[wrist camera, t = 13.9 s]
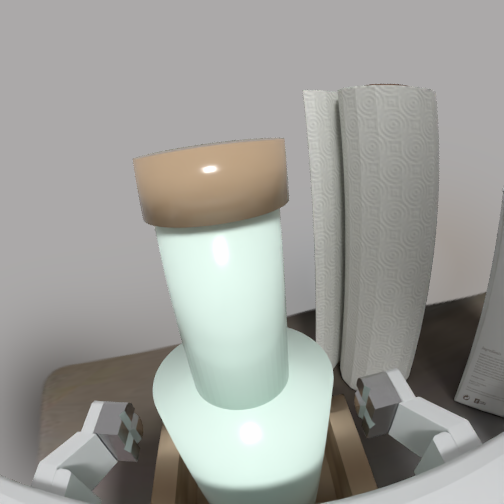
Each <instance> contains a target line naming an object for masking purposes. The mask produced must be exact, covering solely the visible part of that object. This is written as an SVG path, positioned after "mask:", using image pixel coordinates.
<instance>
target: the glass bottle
mask: <svg viewBox="0 0 504 504" xmlns="http://www.w3.org/2000/svg"><path fill="white" fill-rule="evenodd" d="M133 164H134V171H135V177H136V182H137V189H138V194H139V200H140V205H141V211H142V216H143V220H144V221H145V222H146V223H148V224H150V225H153V226H155V231H156V236H157V241H158V246H159V250H160V255H161V259H162V264H163V268H164V273H165V277H166V281H167V286H168V290H169V294H170V298H171V302H172V306H173V310H174V314H175V317H176V321H177V325H178V329H179V332H180V336H181V340H182V344H180V345H179V346H178V347H176V348H175V349H174V350H173V351H172V352H171V353H170V354H169V355H168V356H167V357H166V358H165V359H164V361H163V362H162V363H161V365H160V367H159V369H158V371H157V373H156V376H155V379H154V383H153V398H154V402H155V405H156V408H157V410H158V412H159V414H160V417H161V419H162V421H163V423H164V425H165V427H166V429H167V431H168V433H169V435H170V436H171V438H172V440H173V442H174V444H175V446H176V448H177V450H178V452H179V453H180V455H181V457H182V459H183V461H184V462H185V464H186V466H187V468H188V469H189V471H190V473H191V475H192V476H193V478H194V480H195V481H196V483H197V485H198V486H199V488H200V490H201V491H202V493H203V494H204V496H205V498H206V499H207V501H208V502H209V504H315V502H316V497H317V492H318V486H319V481H320V475H321V469H322V463H323V457H324V451H325V444H326V437H327V430H328V423H329V415H330V407H331V398H332V389H333V379H334V377H333V369H332V365H331V362H330V360H329V358H328V356H327V354H326V353H325V351H324V350H323V349H322V348H321V347H320V346H319V345H318V344H317V343H316V342H315V341H314V340H312V339H311V338H310V337H308V336H306V335H305V334H303V333H301V332H298V331H296V330H294V329H291V328H288V327H287V317H286V297H285V281H284V263H283V247H282V234H281V233H282V232H281V219H280V208H281V207H282V206H284V205H285V204H286V203H287V202H288V201H289V191H288V177H287V165H286V152H285V140H284V138H260V139H246V140H234V141H225V142H217V143H209V144H201V145H195V146H188V147H183V148H177V149H171V150H166V151H161V152H157V153H152V154H148V155H144V156H140V157H137V158H134V159H133Z"/></svg>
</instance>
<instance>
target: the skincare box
mask: <svg viewBox="0 0 504 504" xmlns="http://www.w3.org/2000/svg"><path fill="white" fill-rule="evenodd" d="M502 191H503V198H502V206H501V214H500V221H499V228H498V234H497V240H496V246H495V252H494V258H493V263H492V268H491V274H490V278H489V283H488V288H487V293H486V297H485V301H484V305H483V309H482V313H481V317H480V321H479V324H478V328H477V331H476V335H475V338H474V341H473V345H472V348H471V352H470V355H469V358H468V361H467V364H466V367H465V370H464V373H463V376H462V379H461V381H460V384H459V387H458V390H457V393H456V395H455V398H454V400H455V401H457V402H459V403H462V404H465V405H467V406H470V407H473V408H476V409H479V410H482V411H485V412H488V413H492V414H495V415H498V416H501V417H504V188H502Z"/></svg>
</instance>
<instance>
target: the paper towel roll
mask: <svg viewBox="0 0 504 504" xmlns="http://www.w3.org/2000/svg"><path fill="white" fill-rule="evenodd" d="M303 99H304V108H305V117H306V128H307V139H308V149H309V163H310V176H311V191H312V207H313V226H314V249H315V250H314V251H315V285H316V343H317V344H318V345H319V346H320V347H321V348H322V349H323V350H324V351H325V353H326V354H327V356H328V358H329V360H330V362H331V365H332V369H333V368H334V367H335V366H336V364H337V363H338V362H339V361H340V360H341V363H340V370H341V374H342V378H343V380H344V381H345V382H346V383H347V384H348V385H349V386H350V388H352V389H354V390H356V391H357V390H358V388H357V385H356V384H357V379H358V378H359V377H363V376H367V375H371V374H375V373H379V372H382V371H383V372H384V371H387V370H391V369H394V368H397V369H399V370H400V372H401V374H402V375H403V377H404V379H405V380H407V378H408V377H409V374H410V371H411V367H412V363H413V359H414V356H415V352H416V348H417V344H418V339H419V335H420V331H421V326H422V321H423V316H424V311H425V306H426V301H427V295H428V289H429V283H430V277H431V269H432V262H433V255H434V245H435V235H436V224H437V212H438V191H439V134H438V115H437V101H436V92H435V91H433V90H431V89H426V88H420V87H412V86H406V85H399V84H371V85H364V86H354V87H348V88H343V89H340V90H338V92H330V91H319V90H303Z"/></svg>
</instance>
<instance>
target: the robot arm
mask: <svg viewBox="0 0 504 504" xmlns="http://www.w3.org/2000/svg"><path fill="white" fill-rule="evenodd" d="M356 385H357V388H358V390H357V391H356V393H355V397H354V402H355V408H356V412H357V415H358V416H359V417H360V418H362V419H363V422H362V427H363V430H364V432H365V435H366V437H367V439H368V438H372V437H376V436H380V435H384V434H387V433H389V435H390V436H392V437H393V438H394V439H396V440H397V441H398V442H400V443H401V444H403V445H404V446H405V447H407V448H408V449H410V450H411V451H412V452H414V453H415V454H417V455H418V456H419V457H421V458H422V459H421V460H420V462H419V464H418V465H417V467H416V469H415V470H414V473H415V476H413V477H410V478H408V479H405V480H402V481H400V482H397V483H394V484H391V485H388V486H385V487H382V488H379V489H375V490H372V491H369V492H365V493H362V494H358V495H354V496H351V497H347V498H343V499H339V500H334V501H330V502H325V503H320V504H504V432H502V433H500V434H499V435H497V436H496V437H494V438H492V439H490V440H489V441H487V442H485V443H483V444H482V442H481V441H480V439H479V437H478V436H477V434H476V432H475V431H474V429H473V428H472V426H471V424H470V423H469V421H468V420H466V419H464V418H462V417H460V416H458V415H456V414H454V413H452V412H450V411H448V410H446V409H443V408H441V407H439V406H437V405H435V404H433V403H431V402H429V401H427V400H425V399H423V398H421V397H415V395H414V394H413V392H412V390H411V389H410V387H409V385H408V384H407V382H406V380H405V379H404V377H403V375H402V374H401V372H400V370H399V369H397V368H394V369H391V370H387V371H384V372H383V371H382V372H379V373H375V374H371V375H367V376H363V377H359V378H358V379H357V384H356ZM134 410H135V408H134V407H133V405H132V404H131V403H123V402H107V401H106V402H105V401H94V402H93V403H92V404H91V407H90V410H89V412H88V415H87V417H86V420H85V423H84V425H83V428H82V431H81V432H77V433H76V434H75V435H73V436H72V437H71V438H70V439H68V440H67V441H66V442H65V443H63V444H62V445H61V446H60V447H58V448H57V449H56V450H55V451H53V452H52V453H51V454H49V455H48V456H47V457H46V458H44V459H43V460H42V461H41V462H40V463H39V465H38V468H37V471H36V473H35V476H34V479H33V482H32V484H31V486H28V485H25V484H22V483H20V482H17V481H14V480H12V479H9V478H6V477H4V476H2V475H0V504H101V502H102V501H101V499H100V498H99V497H98V496H96V495H95V494H94V493H93V492H92V490H93V489H94V488H95V487H96V486H97V485H98V483H99V482H100V481H101V480H102V479H103V478H104V477H105V476H106V474H107V473H108V472H109V471H110V470H111V469H112V467H113V466H114V465H115V464H116V463H117V461H132V462H137V460H138V456H139V451H140V447H139V445H138V444H137V443H138V442H139V441H140V440H141V439H142V436H143V425H142V421H141V419H140V417H139V416H138V415H136V414H135V413H134Z"/></svg>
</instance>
